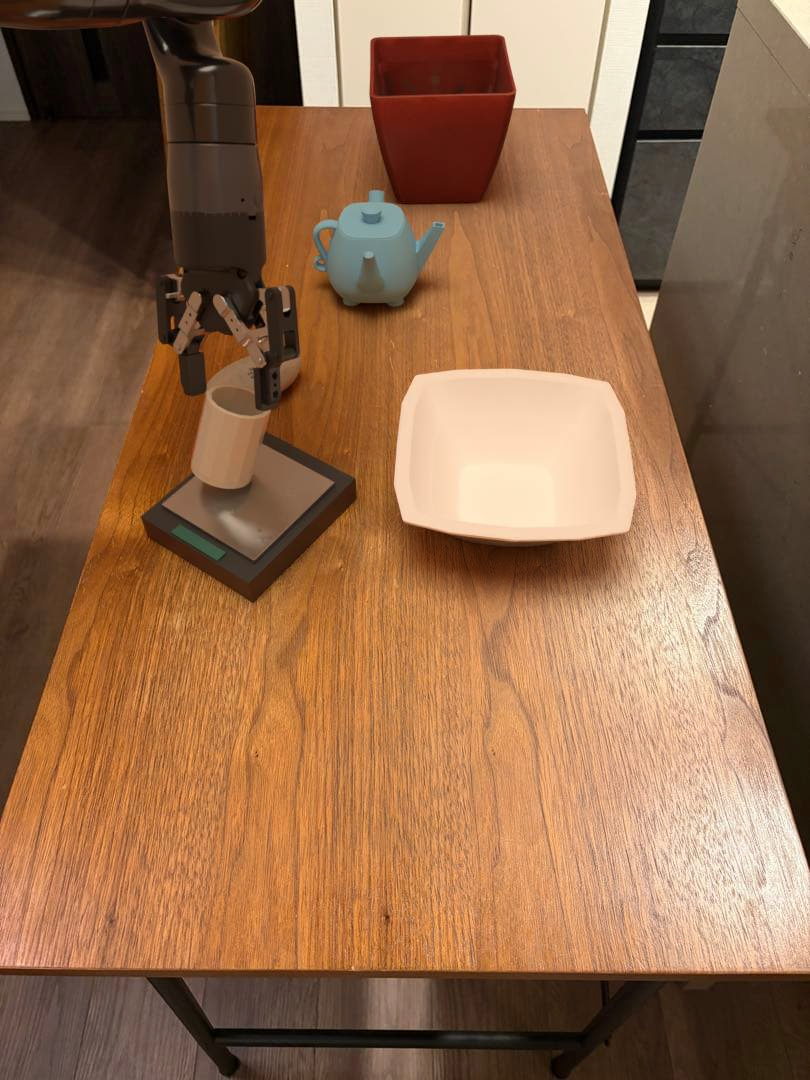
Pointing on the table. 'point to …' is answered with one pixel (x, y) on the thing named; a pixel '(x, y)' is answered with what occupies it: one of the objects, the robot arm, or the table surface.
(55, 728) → the table surface
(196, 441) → the cup
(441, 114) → the flower pot
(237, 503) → the scale pan
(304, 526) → the scale
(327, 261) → the teapot
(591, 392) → the bowl
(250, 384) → the stone
